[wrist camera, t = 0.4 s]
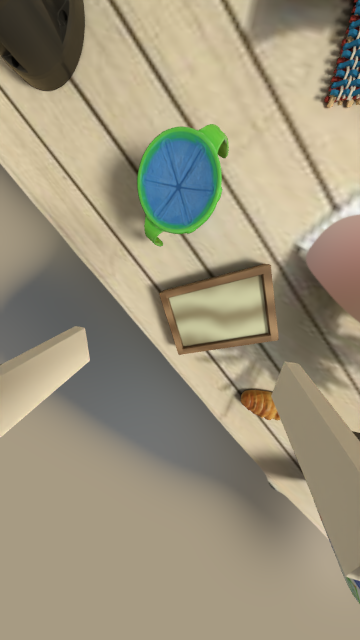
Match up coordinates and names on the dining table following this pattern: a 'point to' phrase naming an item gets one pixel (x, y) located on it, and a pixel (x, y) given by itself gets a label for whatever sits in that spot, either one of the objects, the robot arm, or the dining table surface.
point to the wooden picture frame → (222, 311)
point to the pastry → (260, 403)
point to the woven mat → (348, 65)
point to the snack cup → (181, 179)
